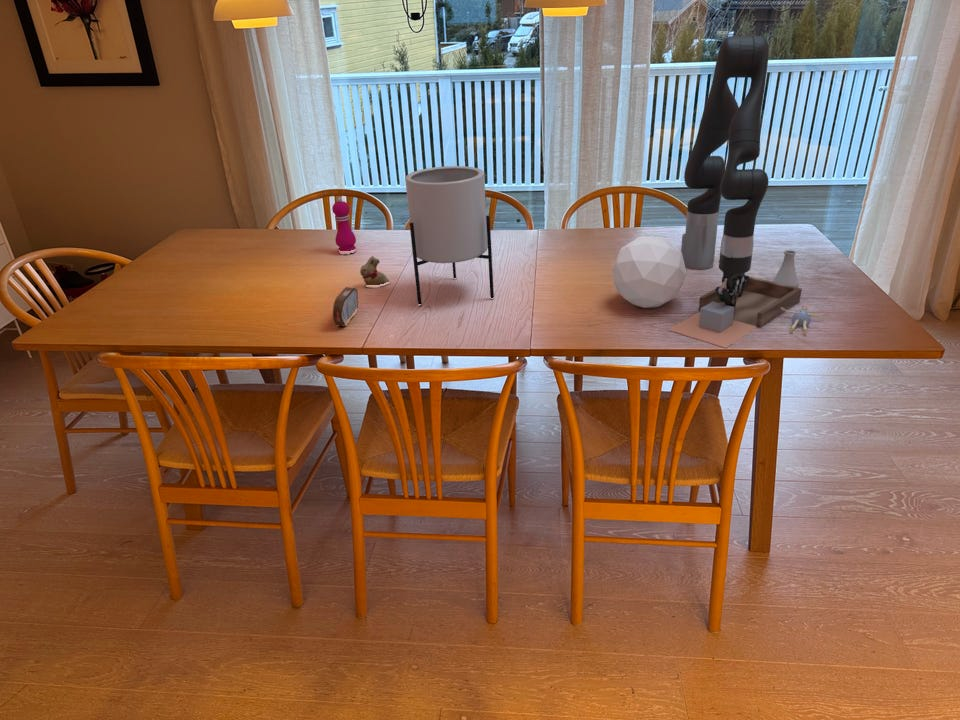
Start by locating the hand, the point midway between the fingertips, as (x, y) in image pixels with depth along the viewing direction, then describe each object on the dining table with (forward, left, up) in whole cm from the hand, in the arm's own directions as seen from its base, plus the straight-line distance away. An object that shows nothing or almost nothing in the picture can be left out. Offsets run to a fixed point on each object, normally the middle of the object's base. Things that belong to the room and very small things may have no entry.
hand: (728, 315), depth 179 cm
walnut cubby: (0, +11, -1) cm, 11 cm away
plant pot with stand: (-69, -33, -2) cm, 77 cm away
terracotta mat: (0, -7, -1) cm, 8 cm away
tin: (-79, -65, -2) cm, 103 cm away
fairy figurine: (+15, +8, -2) cm, 17 cm away
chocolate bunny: (-95, -44, -2) cm, 105 cm away
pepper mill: (-131, -31, -2) cm, 135 cm away
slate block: (0, -6, -1) cm, 6 cm away
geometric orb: (-22, -4, -2) cm, 23 cm away
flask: (0, +32, -2) cm, 32 cm away
